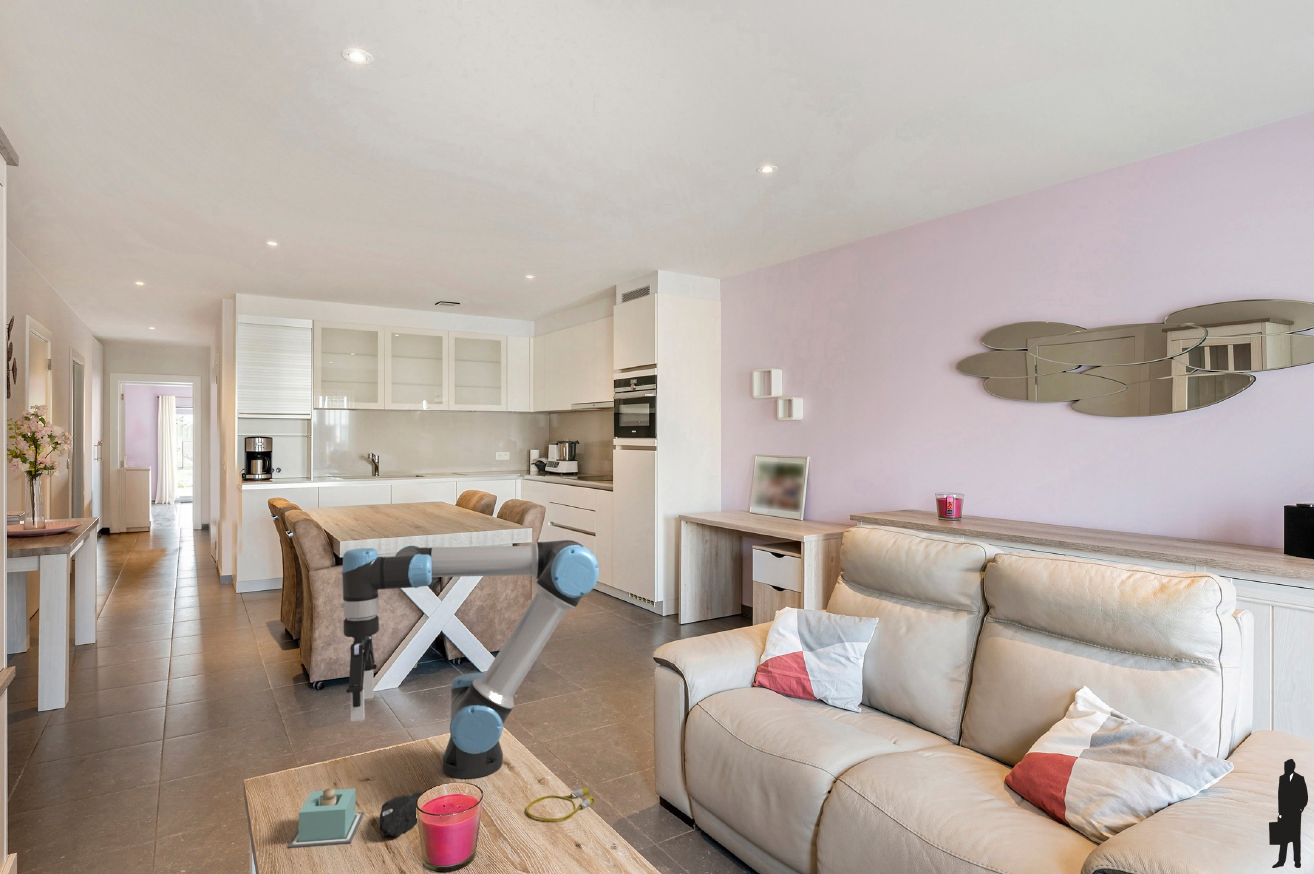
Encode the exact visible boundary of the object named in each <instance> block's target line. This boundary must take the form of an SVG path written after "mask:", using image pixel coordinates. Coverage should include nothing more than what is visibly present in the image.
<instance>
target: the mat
mask: <svg viewBox="0 0 1314 874" xmlns="http://www.w3.org/2000/svg"><path fill="white" fill-rule="evenodd" d="M364 814H365V811H362V812H360V811H359V812H355V817H354V819H353V822H352V824H351V826H350V828H349V830H348V832H347V834H346V837H345V838H342V839H329V840H316V841H302V842H298V833H299V828H298V829H297V831H296V833H295V835H294V836H293V837H292V840H291V841H290V843H289V844H288V847H287V848H288V849H294V848H295V849H296V848H307V847H318V846H319V847H320V846H334V845H335V846H336V845H346V844H351V843H352V842H353V839H354V837H355V834H356V833H357V830H358V827H360V824H361V822H362V819H363V816H364Z"/></svg>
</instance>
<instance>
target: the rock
mask: <svg viewBox="0 0 1314 874" xmlns="http://www.w3.org/2000/svg"><path fill="white" fill-rule="evenodd" d="M421 794H423V792H422V791H416V792H413V793H412V794H402V795H399V796H396V797H392V798H391V799H390V800H387V801H385V802H384V803H383V804H382V805H381V809H380V815H379V827H378V828H379V831H381V834H382V836H383V837H386V836H392V837H399V836H401V835H402V834H403V833H407V832H408V831H410V830H412V829H413V828H414V827H415V826H416V825H417V824H418V823H417V818H416V800H417V798H418V797H419V796H420V795H421ZM423 795H424V794H423Z"/></svg>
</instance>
